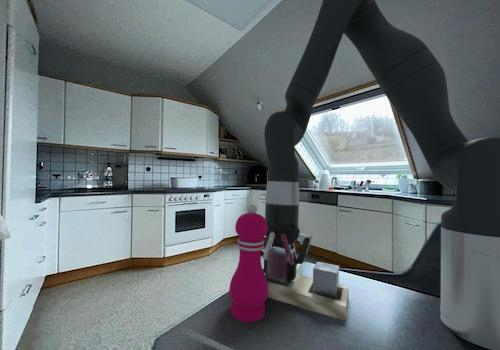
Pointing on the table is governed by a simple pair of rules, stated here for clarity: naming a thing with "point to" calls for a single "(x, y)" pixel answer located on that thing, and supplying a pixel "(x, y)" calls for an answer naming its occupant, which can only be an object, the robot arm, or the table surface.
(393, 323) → the table surface
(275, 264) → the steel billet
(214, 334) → the table surface
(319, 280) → the block
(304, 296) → the wooden tray
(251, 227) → the pepper mill
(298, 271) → the button housing
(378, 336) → the table surface
